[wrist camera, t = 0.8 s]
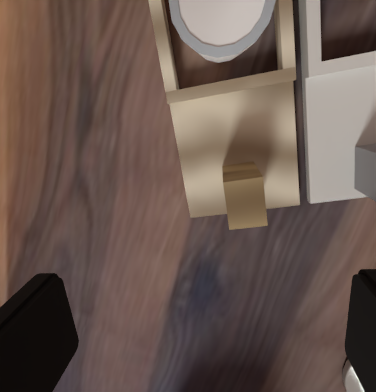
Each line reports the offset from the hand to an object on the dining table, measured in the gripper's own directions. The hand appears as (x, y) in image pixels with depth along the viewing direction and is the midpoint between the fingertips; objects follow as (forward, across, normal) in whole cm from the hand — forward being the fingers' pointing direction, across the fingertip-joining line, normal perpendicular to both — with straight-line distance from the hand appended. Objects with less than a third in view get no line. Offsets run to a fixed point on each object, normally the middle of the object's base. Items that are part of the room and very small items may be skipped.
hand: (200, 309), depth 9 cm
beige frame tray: (+20, -2, -7) cm, 21 cm away
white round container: (+20, -1, -13) cm, 24 cm away
